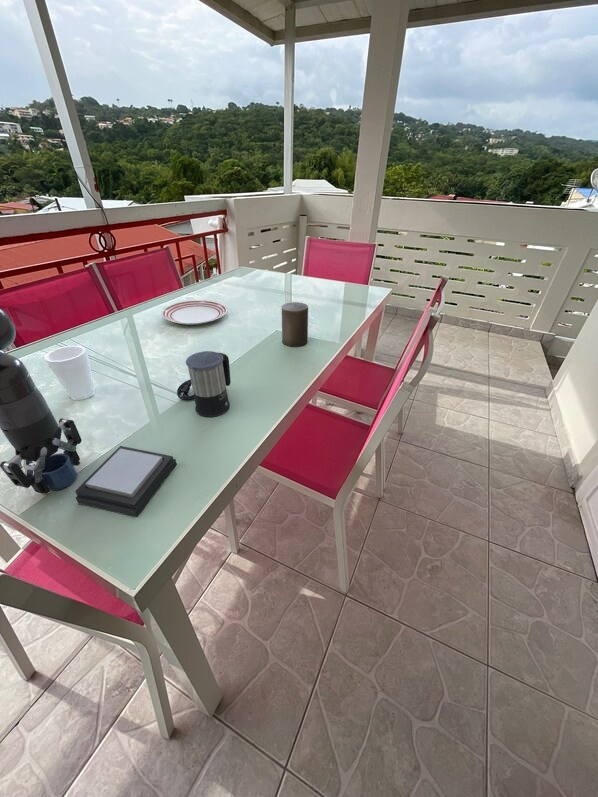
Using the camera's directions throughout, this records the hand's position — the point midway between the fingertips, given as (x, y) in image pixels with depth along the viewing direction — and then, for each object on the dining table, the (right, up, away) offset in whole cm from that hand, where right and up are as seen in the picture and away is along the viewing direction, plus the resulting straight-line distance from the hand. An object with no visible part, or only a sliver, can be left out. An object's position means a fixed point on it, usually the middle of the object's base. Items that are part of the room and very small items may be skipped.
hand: (60, 477), depth 68 cm
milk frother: (+22, +15, +24) cm, 36 cm away
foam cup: (-13, +17, +27) cm, 34 cm away
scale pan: (+14, +1, -1) cm, 14 cm away
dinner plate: (+4, +52, +77) cm, 93 cm away
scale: (+14, -1, 0) cm, 14 cm away
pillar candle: (+48, +38, +57) cm, 84 cm away
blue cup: (0, -1, 0) cm, 1 cm away
